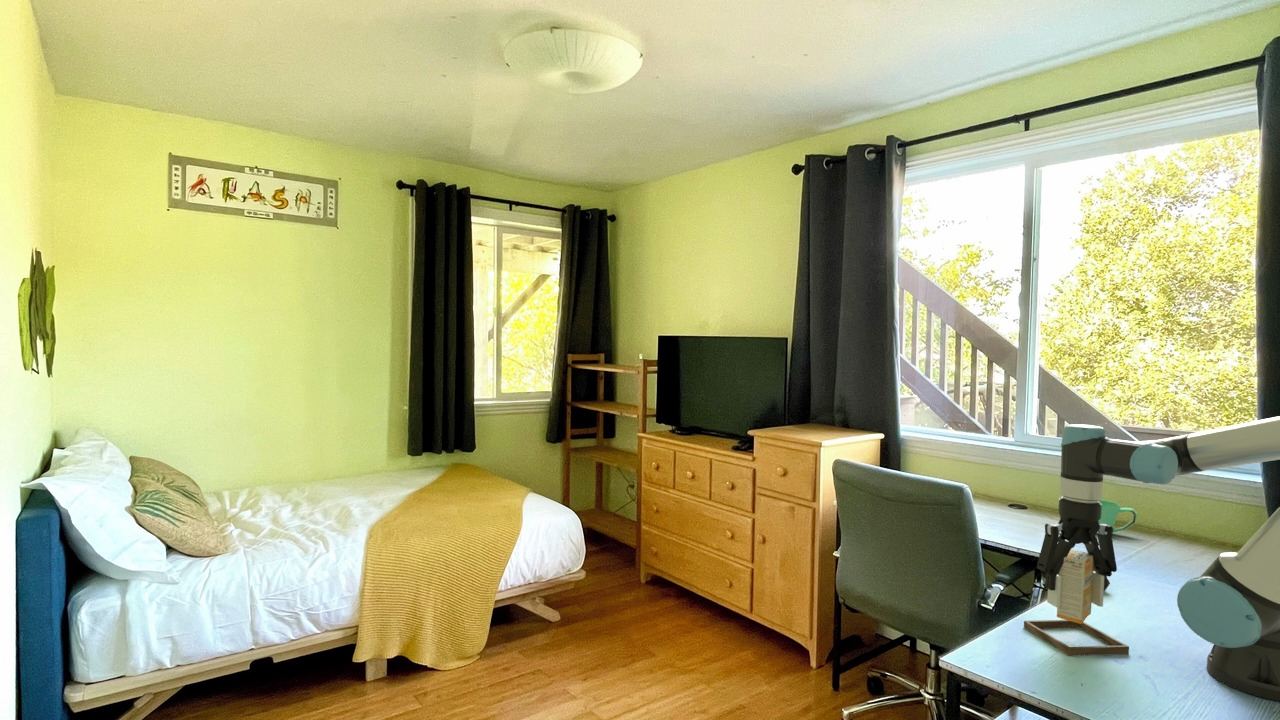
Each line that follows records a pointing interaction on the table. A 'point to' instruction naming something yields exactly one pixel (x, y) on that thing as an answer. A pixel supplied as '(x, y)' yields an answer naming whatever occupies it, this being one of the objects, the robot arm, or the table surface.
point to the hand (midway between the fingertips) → (1074, 604)
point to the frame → (1115, 647)
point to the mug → (1114, 514)
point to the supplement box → (1076, 586)
